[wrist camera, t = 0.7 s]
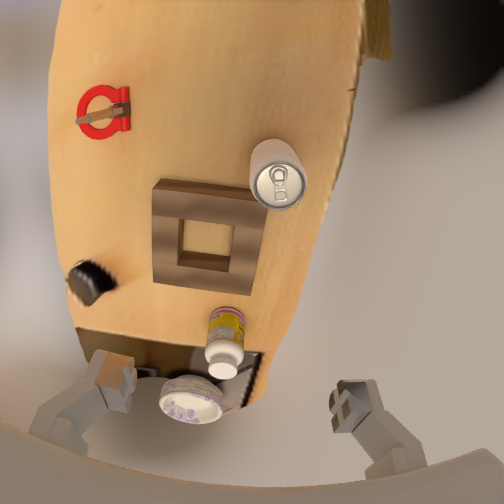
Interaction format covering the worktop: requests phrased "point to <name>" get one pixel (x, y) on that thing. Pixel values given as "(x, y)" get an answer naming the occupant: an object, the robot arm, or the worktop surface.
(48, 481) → the robot arm
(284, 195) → the can
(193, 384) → the paper bowls
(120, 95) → the tow hook
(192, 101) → the worktop surface
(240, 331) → the supplement bottle
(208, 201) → the holder
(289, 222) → the worktop surface
